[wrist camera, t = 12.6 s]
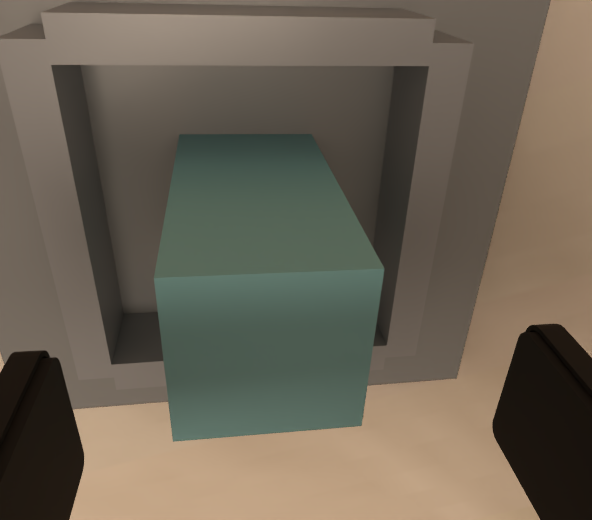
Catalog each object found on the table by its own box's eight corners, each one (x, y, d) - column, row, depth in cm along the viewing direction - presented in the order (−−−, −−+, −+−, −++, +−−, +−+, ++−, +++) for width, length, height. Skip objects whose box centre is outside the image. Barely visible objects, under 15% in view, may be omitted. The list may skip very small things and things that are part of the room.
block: (311, 133, 18) (384, 268, 10) (305, 246, 20) (361, 426, 13) (179, 134, 17) (153, 278, 10) (188, 250, 20) (173, 441, 12)
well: (564, -129, 16) (659, -150, 13) (448, 364, 26) (483, 426, 23) (-155, -171, 13) (-281, -212, 10) (28, 396, 23) (-4, 471, 20)
